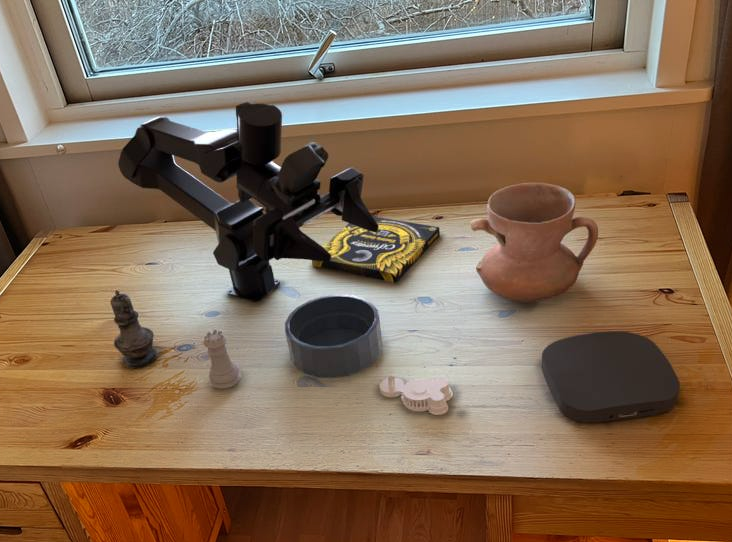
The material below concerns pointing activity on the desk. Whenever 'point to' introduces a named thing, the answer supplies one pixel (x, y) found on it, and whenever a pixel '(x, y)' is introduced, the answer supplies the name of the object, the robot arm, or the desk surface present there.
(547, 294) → the ceramic jug
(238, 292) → the robot arm
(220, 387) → the rook chess piece
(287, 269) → the desk surface
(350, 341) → the basin
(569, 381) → the media streaming box
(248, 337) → the desk surface
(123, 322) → the bishop chess piece
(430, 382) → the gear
